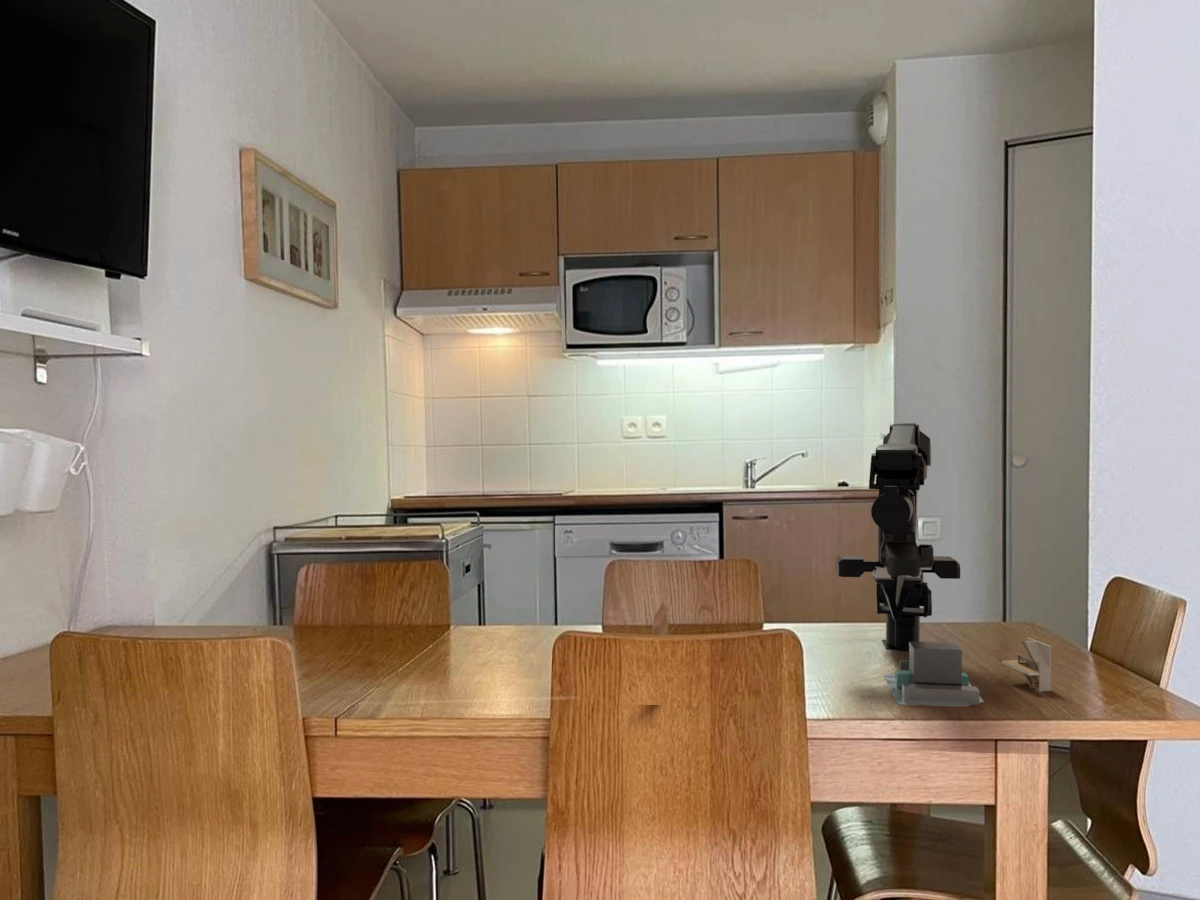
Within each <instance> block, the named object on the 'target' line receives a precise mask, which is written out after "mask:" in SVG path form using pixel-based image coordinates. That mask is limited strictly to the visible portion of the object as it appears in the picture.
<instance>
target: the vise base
mask: <svg viewBox="0 0 1200 900" xmlns="http://www.w3.org/2000/svg"><path fill="white" fill-rule="evenodd" d="M882 675H883V679H884V681H885V682H886V685H887V687H888V688H889V690H890V692H891V694H892V696H893V698H894V700H895V702H896V704H897V705H898V706H916V705H918V706H919V705H923V707H925V706H926V707H955V708H957V707H959V708H960V707H963V708H964V707H965V708H966V707H969V706H980V703H984V702H985V701H984V700H983V698H982V697H981V696H980V689H979V688H978V687H977V686H972V685H971V683H970V682H969V686H948V685H923V684H902V687H897V686H896V684H895V673H883V674H882ZM924 705H925V706H924ZM927 705H928V706H927ZM929 705H930V706H929ZM918 706H917V707H918Z"/></svg>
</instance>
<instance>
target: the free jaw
mask: <svg viewBox="0 0 1200 900" xmlns="http://www.w3.org/2000/svg"><path fill="white" fill-rule="evenodd" d="M894 674H895V684H896V686H897V687H902V684H909V659H899V669H896V670H895V671H894ZM969 680H970V679H969V675H968V674H967V673H966V672H962V686H969V683H970V682H969Z"/></svg>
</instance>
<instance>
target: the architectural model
mask: <svg viewBox="0 0 1200 900" xmlns="http://www.w3.org/2000/svg"><path fill="white" fill-rule="evenodd" d="M1021 642H1022V644H1023V645H1024V647H1025V650H1026V656H1023V655H1021V653H1019V652H1018V653H1017V659H1013V660H1012V659H1011V660H1002V663H1001V664H1002V665H1003V664H1004V665H1005V666H1007V667H1010V668H1012V669H1014V670H1017V671H1018V672H1020V673H1022V674H1023V676H1024V679H1025V680H1026V682H1027V684H1028V686H1029V687H1030V688H1032V689H1035V688H1038V691H1039V692H1040V693H1041V692H1051V691H1052V646H1051V645H1048V644H1046V643H1043V642H1041V641H1038V640H1035V639H1033V638H1031V637H1026V640H1025V642H1024V641H1021Z"/></svg>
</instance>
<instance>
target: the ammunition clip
mask: <svg viewBox="0 0 1200 900" xmlns="http://www.w3.org/2000/svg"><path fill="white" fill-rule="evenodd" d="M652 635H669V626H668V613H667V608H666V605H665V602H662V603H661V604H660V606H659V608H658V609H657V611H656V613H655V615H654V618H653V622H652V633H651V636H652ZM669 636H670V635H669Z"/></svg>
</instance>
